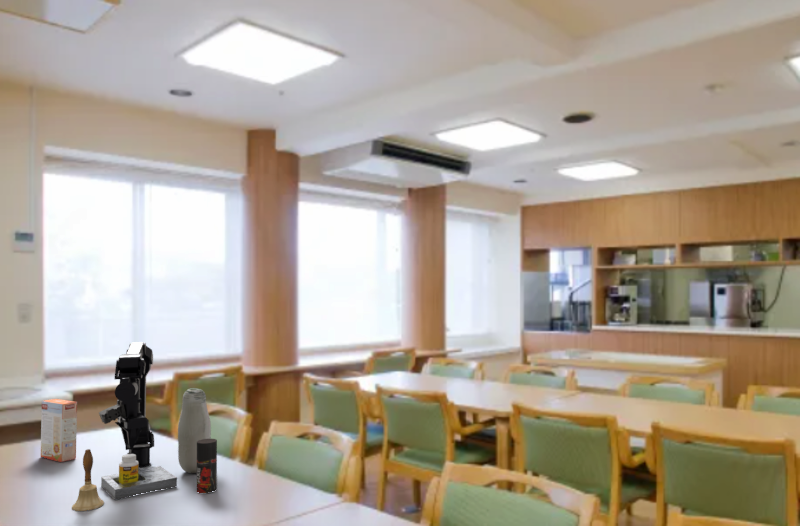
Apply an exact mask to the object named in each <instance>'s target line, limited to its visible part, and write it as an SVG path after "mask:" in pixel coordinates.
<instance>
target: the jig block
mask: <svg viewBox="0 0 800 526" xmlns="http://www.w3.org/2000/svg"><path fill="white" fill-rule="evenodd" d="M100 480H101V484H100V485H101V488H102V489H103V490H104V491H105V492H106V491H107V492H106V494H108V493H109V494H110V495H111V496H110V495H109V494H108V495H109V496H110V497H111V498H112V499H113V500H115V501H117V500H116V499H118V500H122V499H121V498H123V499H126V498H125V497H127V498H130V497H129V496H132V497H134V496H133V495H136V494H141V493H146V492H150V491H155V490H161V489H166V488H170V489H172V488H171V487H175V486H177V487H178V481H177V480H178V478H177V476H176V475H174V474H173V473H171V472H170V471H168V470H167V469H166V468H164V467H162V465H158V466H154V467H148V468H147V467H146V468H142V469H138V481H136V482H131V483H126V484H121V485H119V473H115V474H110V475H104V476H101V479H100ZM175 488H176V487H175ZM166 490H167V489H166ZM161 491H162V490H161ZM146 494H147V493H146Z"/></svg>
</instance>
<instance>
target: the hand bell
mask: <svg viewBox="0 0 800 526" xmlns="http://www.w3.org/2000/svg"><path fill="white" fill-rule="evenodd" d="M93 463H94V457H93V454H92V451H91V448H87V449H85V451H84V454H83V458H82V465H83V469H84V485H82V486H81V487H79V491H78V496H77V499H76V501H75V502H74V504H73V505H72V506H71V510H72V511H74V510H75V512H87V510H88V511H92V510H96V509H100V508H101V507H102V506H104V504H105V502H104V501H105V500H103V499H102V498H101V497H100V496H99V492H98V487H97V485H96V484H93V482H92V468H93V465H94V464H93Z"/></svg>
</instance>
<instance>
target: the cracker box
mask: <svg viewBox="0 0 800 526" xmlns="http://www.w3.org/2000/svg"><path fill="white" fill-rule="evenodd" d="M77 414H78V401H73V400H67V399H59V398H52V399H46V400H45V399H43V400H41V420H40V421H41V422H40V424H41V425H40V427H41V429H40V458H42V457H44V458H43V459H46V458H47V460H50V461H55V462H59V463H64V462H68V461H73V460H76V459H77V429H78V428H77V427H78V425H77V421H78V419H77V418H78V417H77V416H78V415H77Z"/></svg>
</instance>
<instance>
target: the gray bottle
mask: <svg viewBox="0 0 800 526" xmlns="http://www.w3.org/2000/svg"><path fill="white" fill-rule="evenodd" d="M211 426H212V425H211V418H210V414H209V411H208V406H207V395H206V393H205V391H204V390H203V389H201V388H196V387H192V388H188V389H187V390H185V391H184V393H183V395H182V405H181V412H180V416H179V420H178V425H177V444H178V448H177V449H178V450H177V451H178V452H177V454H178V456H177V457H178V464H179V466H180V468H181V469H182V470H183V471H184V472H186V473H189V474H197V441H198V440H202V439H212V438H211V435H212V430H211V429H212V427H211Z"/></svg>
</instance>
